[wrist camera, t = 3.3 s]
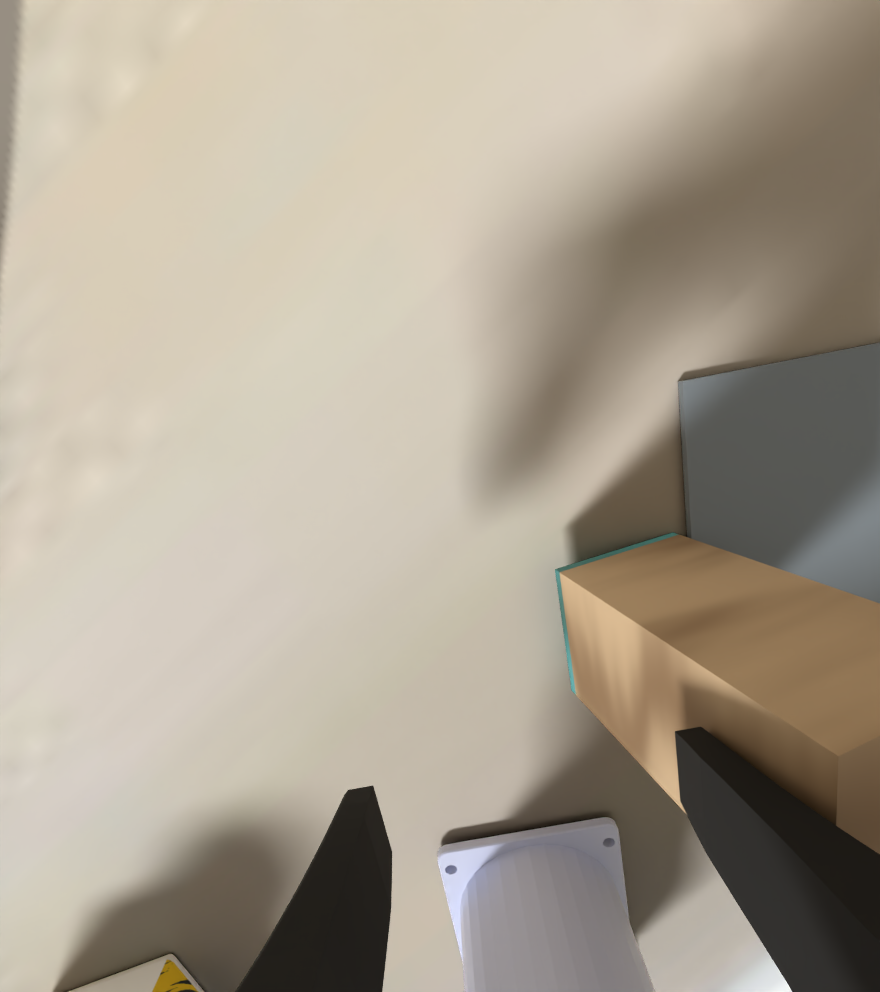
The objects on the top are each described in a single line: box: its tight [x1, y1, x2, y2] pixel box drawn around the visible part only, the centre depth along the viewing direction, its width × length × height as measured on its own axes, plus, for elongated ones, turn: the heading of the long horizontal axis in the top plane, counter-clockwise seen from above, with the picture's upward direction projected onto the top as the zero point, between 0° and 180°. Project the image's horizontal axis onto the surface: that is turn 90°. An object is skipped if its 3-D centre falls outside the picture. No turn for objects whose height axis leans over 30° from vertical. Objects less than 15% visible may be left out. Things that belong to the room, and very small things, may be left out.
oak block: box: [555, 533, 880, 854], centre depth 13 cm, size 5×5×9 cm
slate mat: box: [678, 342, 880, 603], centre depth 17 cm, size 16×14×1 cm
